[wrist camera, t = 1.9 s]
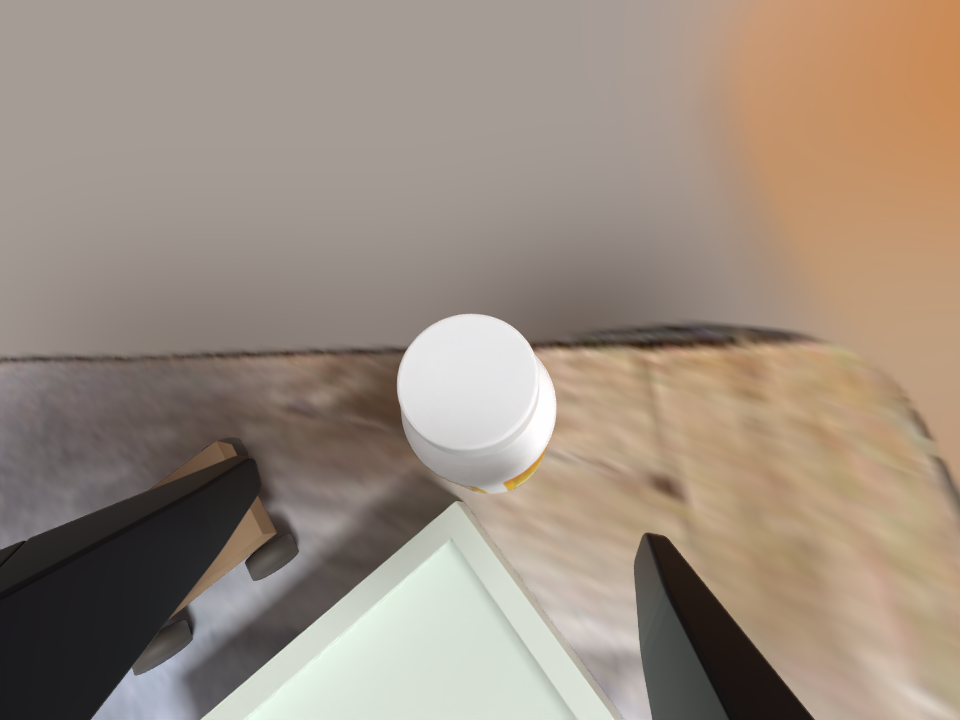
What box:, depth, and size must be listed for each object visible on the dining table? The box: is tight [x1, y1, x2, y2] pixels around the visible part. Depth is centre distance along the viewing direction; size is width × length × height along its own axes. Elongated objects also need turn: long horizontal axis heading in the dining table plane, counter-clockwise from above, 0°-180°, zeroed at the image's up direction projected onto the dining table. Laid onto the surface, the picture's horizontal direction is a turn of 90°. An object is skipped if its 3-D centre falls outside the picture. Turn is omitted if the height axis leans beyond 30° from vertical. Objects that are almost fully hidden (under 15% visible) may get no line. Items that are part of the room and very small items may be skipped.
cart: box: [132, 438, 299, 675], centre depth 17 cm, size 8×7×4 cm
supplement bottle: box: [397, 314, 556, 494], centre depth 15 cm, size 5×5×10 cm
